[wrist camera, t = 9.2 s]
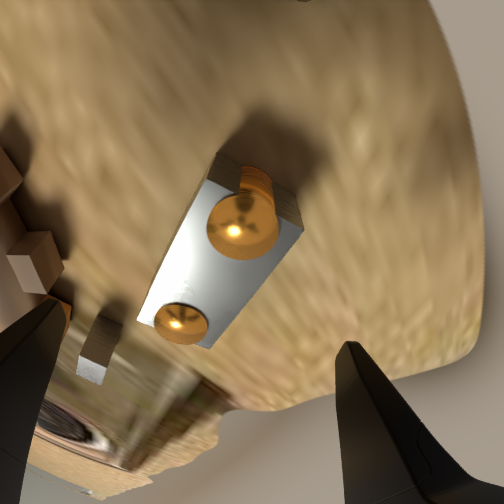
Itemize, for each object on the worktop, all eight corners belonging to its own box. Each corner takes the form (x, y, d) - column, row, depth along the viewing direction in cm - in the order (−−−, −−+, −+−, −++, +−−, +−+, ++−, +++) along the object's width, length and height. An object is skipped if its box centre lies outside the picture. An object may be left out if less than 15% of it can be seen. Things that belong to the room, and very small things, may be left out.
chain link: (219, 147, 11) (207, 175, 8) (298, 191, 12) (309, 228, 9) (150, 283, 14) (134, 326, 12) (213, 310, 15) (207, 355, 13)
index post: (122, 326, 16) (106, 368, 14) (114, 346, 18) (101, 385, 15) (97, 314, 16) (79, 355, 13) (92, 336, 17) (76, 374, 15)
